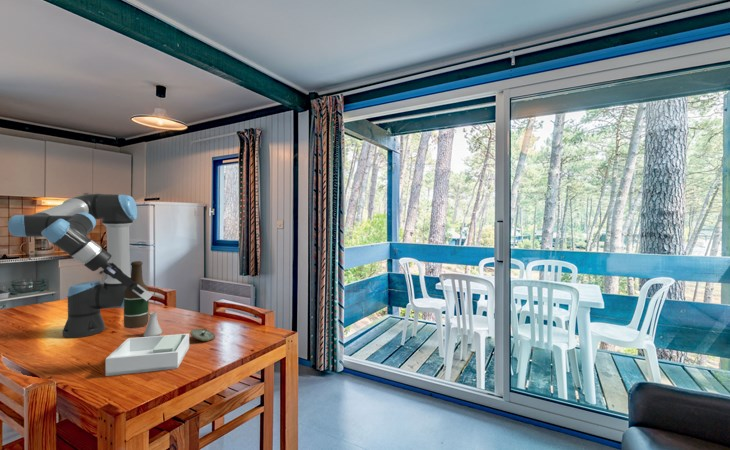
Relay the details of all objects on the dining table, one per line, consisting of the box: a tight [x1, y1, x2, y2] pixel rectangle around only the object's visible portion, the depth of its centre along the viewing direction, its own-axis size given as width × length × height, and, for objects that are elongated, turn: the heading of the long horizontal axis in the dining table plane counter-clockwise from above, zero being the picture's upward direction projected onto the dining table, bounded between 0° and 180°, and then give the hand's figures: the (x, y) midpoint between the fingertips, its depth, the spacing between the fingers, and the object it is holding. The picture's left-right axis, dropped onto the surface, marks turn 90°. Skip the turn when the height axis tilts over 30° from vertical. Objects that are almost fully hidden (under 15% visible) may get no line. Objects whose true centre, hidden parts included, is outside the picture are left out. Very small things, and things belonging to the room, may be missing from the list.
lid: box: [189, 327, 216, 342], centre depth 149 cm, size 11×10×5 cm
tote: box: [105, 333, 190, 377], centre depth 127 cm, size 20×22×6 cm
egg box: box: [153, 334, 182, 353], centre depth 128 cm, size 14×6×6 cm, turn 17°
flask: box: [142, 311, 163, 337], centre depth 154 cm, size 7×7×10 cm
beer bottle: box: [123, 260, 149, 330], centre depth 124 cm, size 8×8×24 cm
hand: (147, 295), depth 127 cm, fingers closed on beer bottle, 7 cm apart
